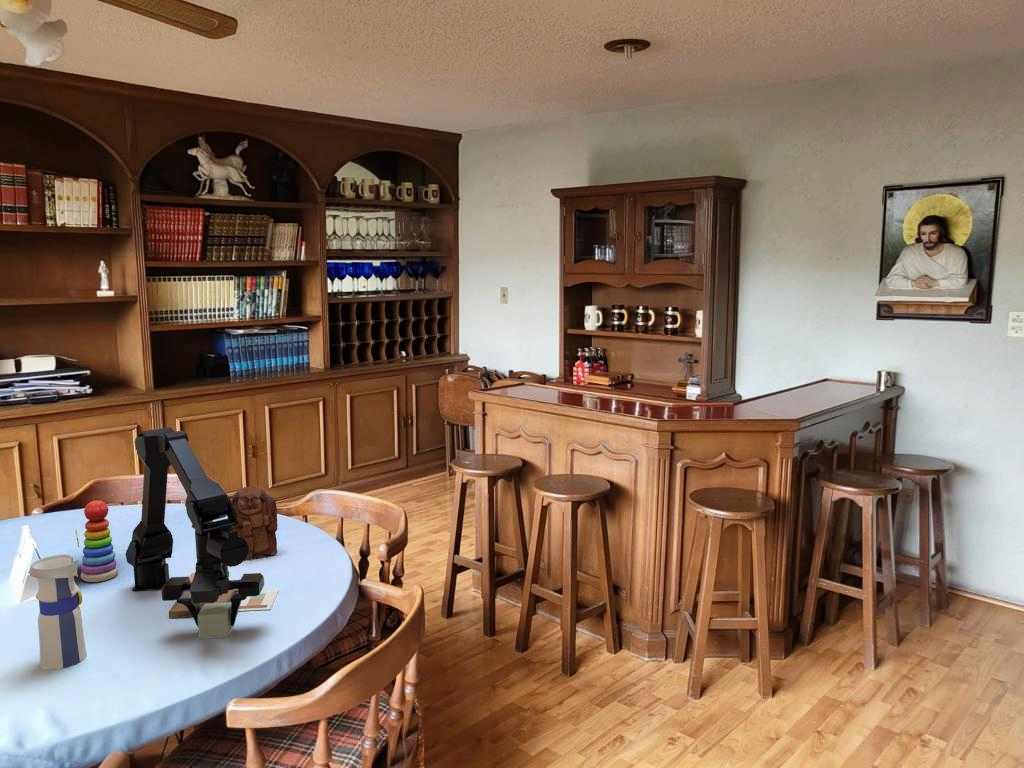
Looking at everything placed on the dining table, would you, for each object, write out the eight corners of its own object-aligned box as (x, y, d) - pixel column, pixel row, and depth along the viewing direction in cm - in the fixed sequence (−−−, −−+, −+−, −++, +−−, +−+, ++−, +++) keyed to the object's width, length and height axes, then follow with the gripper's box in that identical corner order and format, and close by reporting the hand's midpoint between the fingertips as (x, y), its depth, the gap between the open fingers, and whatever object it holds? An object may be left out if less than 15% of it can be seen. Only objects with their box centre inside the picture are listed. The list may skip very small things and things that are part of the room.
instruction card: (232, 611, 169) (232, 610, 169) (242, 592, 179) (242, 591, 179) (270, 609, 170) (270, 608, 170) (278, 591, 180) (278, 589, 180)
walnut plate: (169, 618, 166) (168, 611, 166) (184, 596, 177) (184, 590, 177) (223, 615, 167) (222, 608, 167) (235, 594, 178) (234, 587, 178)
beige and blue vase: (77, 643, 155) (66, 521, 151) (96, 657, 150) (85, 530, 146) (31, 659, 149) (18, 532, 145) (49, 674, 143) (36, 543, 140)
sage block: (199, 639, 157) (197, 615, 156) (206, 626, 163) (204, 603, 162) (227, 637, 158) (226, 613, 157) (233, 625, 163) (232, 602, 162)
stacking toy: (103, 584, 184) (96, 507, 181) (73, 582, 186) (66, 505, 183) (125, 571, 192) (119, 497, 189) (97, 569, 193) (90, 495, 190)
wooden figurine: (231, 562, 197) (226, 493, 194) (229, 554, 203) (225, 486, 200) (280, 556, 202) (276, 488, 199) (277, 548, 207) (274, 481, 205)
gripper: (149, 570, 149) (155, 648, 151) (251, 565, 151) (255, 642, 153) (167, 549, 160) (173, 622, 162) (262, 545, 162) (266, 617, 164)
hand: (216, 626), depth 160 cm, fingers open, 6 cm apart
